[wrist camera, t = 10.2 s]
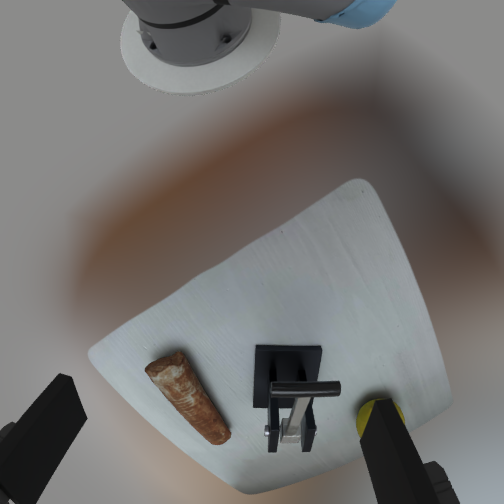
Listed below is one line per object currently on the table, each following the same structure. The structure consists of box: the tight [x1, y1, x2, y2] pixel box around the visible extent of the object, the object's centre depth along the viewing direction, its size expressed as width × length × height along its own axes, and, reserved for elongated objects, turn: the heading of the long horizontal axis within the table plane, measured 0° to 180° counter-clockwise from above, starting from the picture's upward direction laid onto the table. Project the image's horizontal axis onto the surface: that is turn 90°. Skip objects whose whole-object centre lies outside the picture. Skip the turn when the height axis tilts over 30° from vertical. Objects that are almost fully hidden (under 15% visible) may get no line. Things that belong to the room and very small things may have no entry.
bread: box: [145, 351, 231, 445], centre depth 40 cm, size 6×19×6 cm, turn 21°
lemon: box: [356, 399, 405, 438], centre depth 39 cm, size 11×8×8 cm
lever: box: [271, 381, 341, 443], centre depth 27 cm, size 13×6×2 cm, turn 178°
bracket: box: [253, 345, 322, 452], centre depth 35 cm, size 11×9×13 cm
